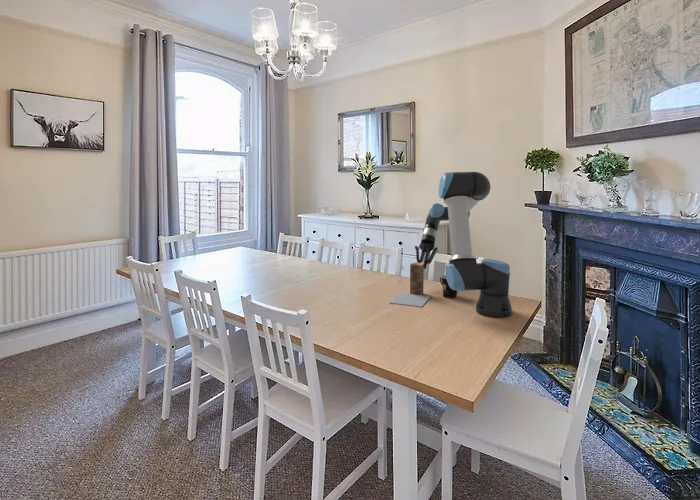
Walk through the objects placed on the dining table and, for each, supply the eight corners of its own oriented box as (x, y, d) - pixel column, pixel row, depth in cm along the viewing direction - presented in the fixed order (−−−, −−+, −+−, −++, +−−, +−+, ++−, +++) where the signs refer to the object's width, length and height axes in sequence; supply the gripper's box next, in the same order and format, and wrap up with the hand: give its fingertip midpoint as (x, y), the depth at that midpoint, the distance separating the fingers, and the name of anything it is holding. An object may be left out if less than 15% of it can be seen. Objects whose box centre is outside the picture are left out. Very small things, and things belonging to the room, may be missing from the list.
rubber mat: (430, 296, 203) (430, 296, 203) (422, 307, 187) (422, 306, 187) (400, 293, 210) (400, 292, 210) (389, 303, 194) (389, 302, 194)
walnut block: (423, 293, 209) (423, 263, 206) (421, 295, 206) (421, 264, 203) (412, 292, 212) (412, 262, 209) (409, 294, 208) (410, 264, 205)
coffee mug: (460, 298, 199) (461, 279, 197) (443, 299, 199) (443, 279, 197) (454, 292, 210) (455, 273, 209) (438, 292, 211) (438, 273, 209)
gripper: (441, 242, 226) (434, 278, 214) (418, 241, 232) (410, 276, 220) (439, 234, 221) (431, 270, 209) (416, 233, 226) (407, 268, 214)
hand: (420, 273), depth 214 cm, fingers closed
